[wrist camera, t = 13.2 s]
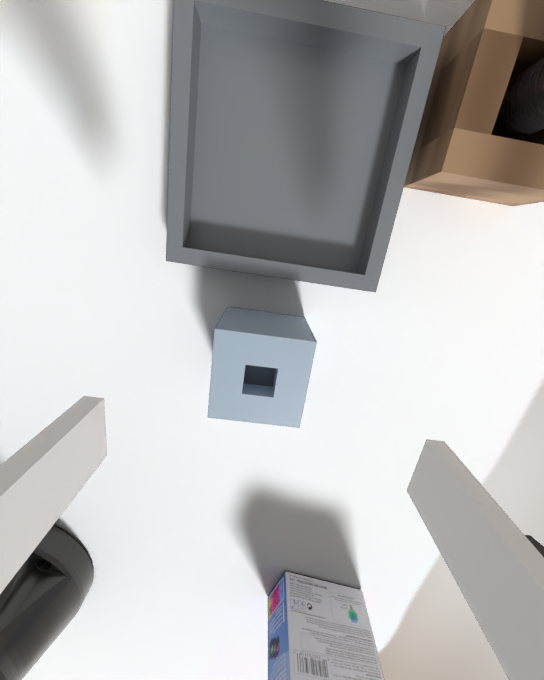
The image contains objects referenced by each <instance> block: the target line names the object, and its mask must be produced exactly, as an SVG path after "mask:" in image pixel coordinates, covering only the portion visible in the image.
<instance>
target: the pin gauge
mask: <svg viewBox="0 0 544 680" xmlns="http://www.w3.org/2000/svg"><path fill="white" fill-rule="evenodd" d="M542 129H544V58H542V59H541V60H539V61H538V62H536V63H535V64H533V65H532V66H530V67H529V68H527V69H526V70H525V71H523V72H522V73H520V74H519V75H517V76H516V77H514V78H513V79H511V80H510V81H509V83H508V86H507V89H506V92H505V95H504V98H503V101H502V104H501V107H500V110H499V113H498V116H497V119H496V122H495V125H494V128H493V131H492V134H491V135H495V136H500V137H505V138H510V139H516V140H518V139H521V138H523V137H526V136H528V135H530V134H533V133H535V132H538V131H540V130H542Z"/></svg>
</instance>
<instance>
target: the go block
mask: <svg viewBox="0 0 544 680" xmlns="http://www.w3.org/2000/svg"><path fill="white" fill-rule="evenodd" d="M542 58H544V0H475V2H474V3H473V4H472V5H471V6H470V7H469V8H468V10H467V11H466V12H465V13H464V14H463V15H462V17H461V18H460V19H459V20H458V21H457V22H456V24H455V25H454V26H453V27H452V28H451V29H450V31H449V32H448V33H447V34H446V35H445V36H444V38H443V39H442V43H441V47H440V51H439V54H438V58H437V62H436V66H435V70H434V73H433V77H432V81H431V85H430V89H429V92H428V96H427V100H426V104H425V108H424V111H423V115H422V119H421V123H420V126H419V130H418V134H417V138H416V142H415V145H414V149H413V153H412V157H411V161H410V164H409V168H408V172H407V176H406V180H405V183H404V187H407V188H412V189H418V190H424V191H430V192H435V193H441V194H447V195H453V196H458V197H464V198H470V199H475V200H481V201H487V202H493V203H498V204H504V205H510V206H517V205H524V204H531V203H538V202H544V129H542V130H540V131H538V132H535V133H533V134H530V135H528V136H526V137H523V138H521V139H518V140H516V139H510V138H505V137H500V136H495V135H491V134H492V131H493V128H494V125H495V122H496V119H497V116H498V113H499V110H500V107H501V104H502V101H503V98H504V95H505V92H506V89H507V86H508V83H509V81H510V80H511V79H513V78H514V77H516V76H517V75H519V74H520V73H522V72H523V71H525V70H526V69H527V68H529V67H530V66H532V65H533V64H535V63H536V62H538V61H539V60H541V59H542Z"/></svg>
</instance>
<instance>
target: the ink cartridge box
mask: <svg viewBox="0 0 544 680" xmlns="http://www.w3.org/2000/svg"><path fill="white" fill-rule="evenodd" d="M268 680H384V676H383V672H382V668H381V664H380V661H379V656H378V652H377V648H376V645H375V640H374V636H373V632H372V629H371V625H370V621H369V617H368V613H367V609H366V605H365V601H364V597H363V593H362V591H361V590H359V589H355V588H351V587H347V586H343V585H338V584H334V583H330V582H326V581H322V580H318V579H314V578H310V577H306V576H302V575H298V574H294V573H290V572H285V573H284V574H283V576H282V577H281V579H280V580H279V582H278V583H277V585H276V586H275V587H274V589H273V590H272V592H271V593H270V595H269V596H268Z"/></svg>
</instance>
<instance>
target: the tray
mask: <svg viewBox="0 0 544 680" xmlns="http://www.w3.org/2000/svg"><path fill="white" fill-rule="evenodd" d="M445 28H446V27H445V26H440V25H436V24H431V23H426V22H421V21H417V20H412V19H407V18H403V17H398V16H393V15H389V14H384V13H379V12H374V11H370V10H365V9H360V8H356V7H351V6H346V5H342V4H337V3H332V2H328V1H323V0H174V10H173V43H172V77H171V110H170V143H169V177H168V210H167V243H166V261H170V262H177V263H183V264H190V265H197V266H203V267H210V268H217V269H223V270H230V271H237V272H243V273H250V274H257V275H263V276H270V277H277V278H284V279H290V280H297V281H304V282H310V283H317V284H324V285H330V286H337V287H344V288H350V289H357V290H364V291H370V292H376V289H377V286H378V282H379V278H380V274H381V270H382V267H383V263H384V259H385V255H386V252H387V248H388V244H389V240H390V236H391V233H392V229H393V225H394V221H395V217H396V214H397V210H398V206H399V202H400V198H401V195H402V191H403V187H404V183H405V180H406V176H407V172H408V168H409V164H410V161H411V157H412V153H413V149H414V145H415V142H416V138H417V134H418V130H419V126H420V123H421V119H422V115H423V111H424V107H425V104H426V100H427V96H428V92H429V89H430V85H431V81H432V77H433V73H434V70H435V66H436V62H437V58H438V54H439V51H440V47H441V43H442V39H443V35H444V32H445Z"/></svg>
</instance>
